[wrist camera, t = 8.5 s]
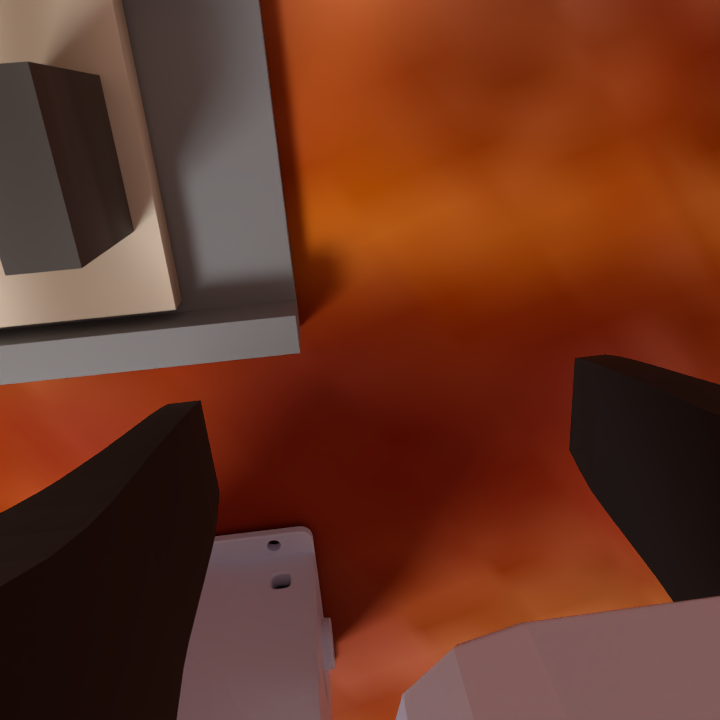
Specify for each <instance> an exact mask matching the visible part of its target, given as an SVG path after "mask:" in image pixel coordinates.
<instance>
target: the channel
mask: <svg viewBox="0 0 720 720" xmlns="http://www.w3.org/2000/svg"><path fill="white" fill-rule="evenodd" d="M122 3H123V8H124V13H125V18H126V23H127V28H128V33H129V38H130V43H131V48H132V53H133V58H134V63H135V68H136V73H137V78H138V83H139V88H140V93H141V98H142V103H143V108H144V113H145V118H146V123H147V128H148V133H149V138H150V143H151V148H152V153H153V158H154V163H155V168H156V173H157V178H158V183H159V188H160V193H161V198H162V203H163V208H164V213H165V218H166V223H167V228H168V233H169V238H170V243H171V248H172V253H173V258H174V263H175V268H176V273H177V278H178V283H179V288H180V293H181V298H182V301H181V303H180V304H179V306H178V307H177V309H176V310H169V311H159V312H149V313H139V314H130V315H120V316H110V317H100V318H90V319H80V320H70V321H60V322H51V323H41V324H31V325H21V326H11V327H1V328H0V385H4V384H13V383H22V382H32V381H41V380H51V379H60V378H70V377H79V376H88V375H98V374H107V373H117V372H126V371H135V370H145V369H154V368H164V367H173V366H182V365H192V364H201V363H211V362H220V361H229V360H239V359H248V358H258V357H267V356H277V355H286V354H295V353H300V322H299V314H298V306H297V297H296V289H295V281H294V273H293V265H292V257H291V249H290V241H289V233H288V225H287V217H286V208H285V200H284V192H283V184H282V176H281V168H280V160H279V152H278V144H277V136H276V128H275V119H274V111H273V103H272V95H271V87H270V79H269V71H268V63H267V55H266V47H265V39H264V30H263V22H262V14H261V6H260V0H122Z"/></svg>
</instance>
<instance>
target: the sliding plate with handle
mask: <svg viewBox="0 0 720 720" xmlns="http://www.w3.org/2000/svg"><path fill="white" fill-rule="evenodd" d="M181 301H182V298H181V293H180V288H179V283H178V278H177V273H176V268H175V263H174V258H173V253H172V248H171V243H170V238H169V233H168V228H167V223H166V218H165V213H164V208H163V203H162V198H161V193H160V188H159V183H158V178H157V173H156V168H155V163H154V158H153V153H152V148H151V143H150V138H149V133H148V128H147V123H146V118H145V113H144V108H143V103H142V98H141V93H140V88H139V83H138V78H137V73H136V68H135V63H134V58H133V53H132V48H131V43H130V38H129V33H128V28H127V23H126V18H125V13H124V8H123V3H122V0H0V328H1V327H11V326H21V325H31V324H41V323H51V322H60V321H70V320H80V319H90V318H100V317H110V316H120V315H130V314H139V313H149V312H159V311H169V310H176V309H177V307H178V306H179V304H180V303H181Z"/></svg>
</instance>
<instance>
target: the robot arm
mask: <svg viewBox="0 0 720 720" xmlns="http://www.w3.org/2000/svg"><path fill="white" fill-rule="evenodd" d="M569 450H570V452H571V454H572V456H573V458H574V460H575V462H576V464H577V466H578V468H579V470H580V472H581V473H582V475H583V477H584V479H585V481H586V482H587V484H588V486H589V488H590V489H591V491H592V492H593V494H594V495H595V496H596V498H597V499H598V501H599V502H600V503H601V505H602V506H603V507H604V509H605V510H606V511H607V513H608V514H609V515H610V517H611V518H612V519H613V521H614V522H615V523H616V525H617V526H618V527H619V529H620V530H621V531H622V533H623V534H624V535H625V537H626V538H627V539H628V541H629V542H630V543H631V544H632V546H633V547H634V548H635V550H636V551H637V552H638V554H639V555H640V556H641V558H642V559H643V560H644V562H645V563H646V564H647V566H648V567H649V568H650V569H651V571H652V572H653V573H654V575H655V576H656V577H657V579H658V580H659V582H660V583H661V584H662V586H663V587H664V589H665V590H666V592H667V593H668V595H669V596H670V597H671V599H672V600H673V602H671V603H663V604H656V605H649V606H641V607H634V608H627V609H619V610H612V611H605V612H597V613H590V614H583V615H575V616H568V617H561V618H553V619H546V620H539V621H531V622H524V623H519V624H516V625H513V626H510V627H507V628H504V629H501V630H499V631H496V632H493V633H490V634H487V635H484V636H481V637H478V638H475V639H472V640H469V641H466V642H463V643H460V644H457V645H456V646H455V647H454V648H453V649H452V650H451V651H450V652H449V653H447V654H446V655H445V656H444V657H443V658H442V659H441V660H440V661H439V662H437V663H436V664H435V665H434V666H433V667H432V668H431V669H430V670H429V671H428V672H426V673H425V674H424V675H423V676H422V677H421V678H420V679H419V680H418V681H416V682H415V683H414V684H413V685H412V686H411V687H410V688H409V689H408V690H407V691H405V692H404V693H403V695H402V699H401V702H400V706H399V710H398V713H397V717H396V720H720V385H719V384H715V383H712V382H708V381H705V380H701V379H698V378H694V377H691V376H688V375H684V374H681V373H678V372H674V371H671V370H668V369H664V368H661V367H657V366H654V365H651V364H647V363H644V362H640V361H636V360H632V359H628V358H624V357H619V356H613V355H598V356H589V357H580V358H575V365H574V382H573V398H572V415H571V432H570V448H569ZM218 503H219V488H218V483H217V478H216V473H215V468H214V464H213V459H212V454H211V449H210V444H209V439H208V434H207V430H206V425H205V420H204V415H203V410H202V405H201V401H192V402H183V403H174V404H167V405H165V406H164V407H162V408H160V409H158V410H157V411H155V412H154V413H153V414H151V415H150V416H148V417H147V418H146V419H144V420H143V421H142V422H140V423H139V424H138V425H136V426H135V427H134V428H132V429H131V430H130V431H128V432H127V433H125V434H124V435H123V436H121V437H120V438H119V439H117V440H116V441H115V442H113V443H112V444H111V445H109V446H108V447H107V448H105V449H104V450H103V451H101V452H100V453H98V454H97V455H95V456H94V457H92V458H91V459H89V460H88V461H86V462H85V463H83V464H82V465H80V466H79V467H77V468H76V469H75V470H73V471H72V472H70V473H69V474H67V475H66V476H64V477H63V478H61V479H60V480H58V481H56V482H55V483H53V484H52V485H50V486H48V487H47V488H45V489H43V490H42V491H40V492H38V493H37V494H35V495H33V496H31V497H29V498H27V499H26V500H24V501H22V502H20V503H18V504H17V505H15V506H13V507H11V508H9V509H8V510H6V511H4V512H2V513H0V720H332V710H331V690H330V670H331V669H334V668H335V655H334V643H333V633H332V624H331V619H330V618H329V617H328V618H324V616H323V608H322V601H321V593H320V586H319V579H318V571H317V564H316V556H315V549H314V541H313V535H312V532H311V531H310V530H309V529H308V528H306V527H303V526H297V527H289V528H280V529H272V530H264V531H256V532H247V533H239V534H231V535H223V536H215V533H216V524H217V514H218ZM272 540H277V541H278V542H279V543H278V544H270V543H269V541H272Z"/></svg>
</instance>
